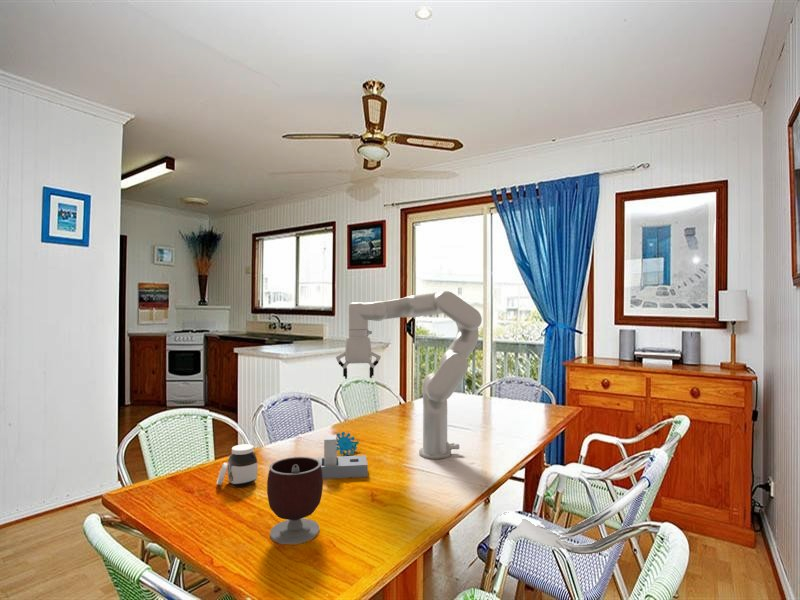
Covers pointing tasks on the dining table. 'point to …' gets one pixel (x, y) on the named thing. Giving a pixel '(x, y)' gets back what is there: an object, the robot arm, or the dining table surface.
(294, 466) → the mate gourd
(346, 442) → the gear
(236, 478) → the spread jar
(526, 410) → the dining table surface
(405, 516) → the dining table surface
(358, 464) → the stand
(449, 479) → the dining table surface
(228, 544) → the dining table surface
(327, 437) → the skincare box
